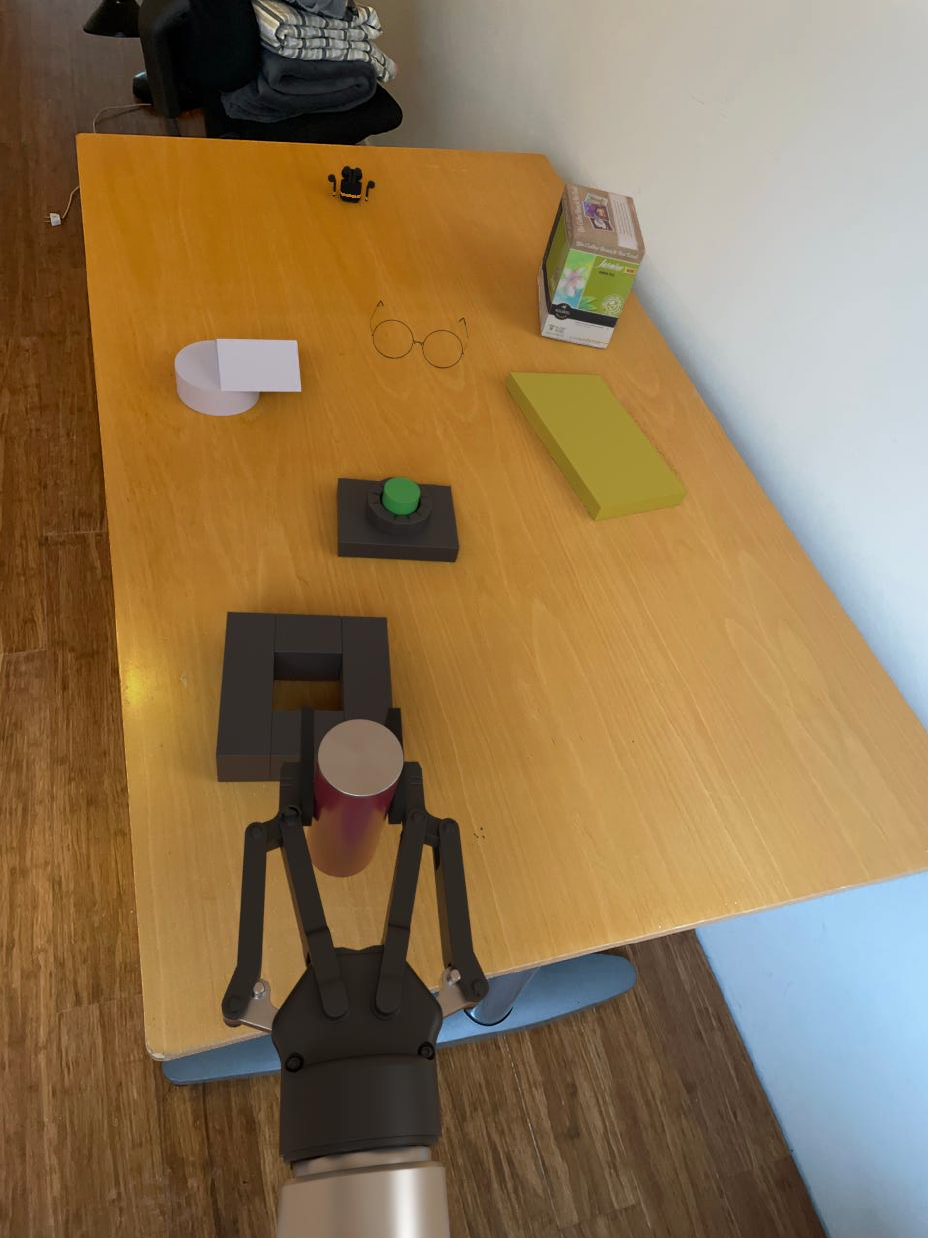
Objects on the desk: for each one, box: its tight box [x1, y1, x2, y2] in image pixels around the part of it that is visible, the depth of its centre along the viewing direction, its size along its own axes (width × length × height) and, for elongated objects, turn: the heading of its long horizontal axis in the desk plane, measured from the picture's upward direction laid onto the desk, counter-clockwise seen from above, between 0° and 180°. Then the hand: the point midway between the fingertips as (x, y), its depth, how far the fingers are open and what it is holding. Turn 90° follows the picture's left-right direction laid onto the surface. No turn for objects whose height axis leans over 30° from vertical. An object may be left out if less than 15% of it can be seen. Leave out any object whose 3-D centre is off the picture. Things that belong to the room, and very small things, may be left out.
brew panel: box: [335, 476, 460, 563], centre depth 83 cm, size 12×9×4 cm
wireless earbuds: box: [327, 165, 376, 204], centre depth 122 cm, size 7×2×5 cm, turn 95°
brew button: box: [382, 476, 420, 515], centre depth 81 cm, size 4×4×2 cm
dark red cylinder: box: [306, 719, 403, 878], centre depth 49 cm, size 5×5×12 cm
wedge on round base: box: [174, 338, 302, 417], centre depth 90 cm, size 9×7×13 cm
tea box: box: [536, 182, 646, 349], centre depth 111 cm, size 15×10×15 cm, turn 179°
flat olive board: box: [504, 371, 688, 522], centre depth 99 cm, size 12×2×24 cm
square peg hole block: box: [215, 611, 394, 783], centre depth 68 cm, size 14×14×4 cm
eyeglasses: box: [369, 300, 469, 369], centre depth 104 cm, size 11×13×5 cm
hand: (349, 719), depth 51 cm, fingers closed on dark red cylinder, 5 cm apart
